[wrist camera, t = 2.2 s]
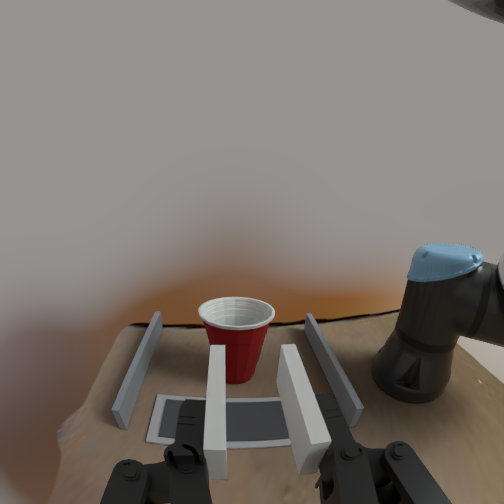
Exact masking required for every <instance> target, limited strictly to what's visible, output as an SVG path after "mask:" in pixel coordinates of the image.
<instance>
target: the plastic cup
mask: <svg viewBox="0 0 504 504" xmlns="http://www.w3.org/2000/svg"><path fill="white" fill-rule="evenodd" d="M198 310H199V314H200V317H201V319H202V320H203V322H204V325H205V328H206V332H207V335H208V339H209V343H210V346H211V345H225V376H226V382H228V383H232V384H240V383H244V382H246V381H249V380H250V379H251V377H252V376H253V374H254V371H255V368H256V364H257V362H258V359H259V356H260V352H261V349H262V345H263V342H264V338H265V335H266V333H267V329H268V328H269V324H270V322H271V320H272V319H273V318H274V315H275V314H274V313H275V310H274V309H273V308H272V307H271V306H270V305H269V304H267V303H265V302H262V301H260V300H256V299H252V298H244V297H225V298H218V299H213V300H210V301H208V302H206V303H204V304H202V305H201V306H200V308H199V309H198Z"/></svg>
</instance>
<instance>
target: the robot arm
mask: <svg viewBox="0 0 504 504" xmlns="http://www.w3.org/2000/svg"><path fill="white" fill-rule="evenodd" d="M449 1H450V2H452V3H454V4H457V5H458V6H461V7H463V8H465V9H467V10H469V11H471V12H474V13H476V14H478V15H481V16H483V17H486V18H489V19H491V20H494V21H497V22H500V23H503V24H504V0H449ZM483 260H484V259H483V254H482V252H481V251H480V250H478V249H475V248H471V247H466V246H462V245H455V244H427V245H423V246H421V247H419V248H418V249H417V250H416V251H415V253H414V255H413V258H412V263H411V266H410V270H409V272H408V274H407V278H408V281H407V286H406V289H405V293H404V297H403V301H402V305H401V308H400V312H399V315H398V319H397V322H396V326H395V329H394V331H393V332H392V334H391V335H390V337H389V338H388V340H387V341H386V343H385V345H384V346H383V347H382V348H381V349H380V350H379V351H378V353H377V355H376V357H375V360H374V363H373V366H372V375H373V378H374V380H375V382H376V383H377V384H378V386H379V387H380V388H381V389H382V390H383V391H385V392H386V393H387V394H389V395H391V396H392V397H394V398H397V399H399V400H402V401H406V402H412V403H423V402H428V401H431V400H434V399H436V398H437V397H439V396H440V395H441V394H442V393H443V391H444V389H445V387H446V386H447V384H448V382H449V379H450V373H451V365H452V359H453V352H454V348H455V345H456V343H457V340H458V338H459V336H464V337H468V338H471V339H475V340H479V341H483V342H487V343H490V344H494V345H498V346H501V347H504V253H503V254H502V256H501V258H500V260H499V263H498V265H495V264H491V263H487V262H483ZM276 382H277V386H278V390H279V395H280V399H281V403H282V408H283V412H284V416H285V420H286V425H287V429H288V433H289V437H290V441H291V446H292V450H293V454H294V458H295V462H296V467H297V471H298V475H305V474H311V473H316V472H317V470H318V468H319V470H320V473H321V476H320V478H319V479H318V481H317V483H316V485H315V488H318V486H319V489H320V500H321V504H452V503H451V502H450V500H449V499H448V498H447V496H446V495H445V493H444V492H443V491H442V489H441V488H440V486H439V485H438V484H437V482H436V481H435V479H434V478H433V477H432V475H431V474H430V473H429V471H428V470H427V468H426V467H425V466H424V464H423V463H422V461H421V460H420V459H419V457H418V456H417V455H416V453H415V452H414V450H413V449H412V448H411V447H410V446H409V445H408V444H407V443H404V442H399V441H396V442H392V443H391V444H389V445H388V446H387V447H386V448H385V449H370V448H365V447H363V446H362V445H361V444H359V443H356V442H355V440H354V439H353V437H352V434H351V432H350V430H349V428H348V426H347V423H346V421H345V419H344V417H343V414H342V412H341V410H340V408H339V406H338V403H337V401H336V400H335V399H334V398H333V397H332V396H331V395H330V394H322V395H314V392H313V390H312V387H311V385H310V382H309V379H308V377H307V374H306V371H305V369H304V366H303V363H302V361H301V358H300V356H299V353H298V350H297V348H296V345H295V344H283V345H281V350H280V358H279V366H278V373H277V380H276ZM163 456H164V458H165V461H163V462H160V463H155V464H146V465H143V464H142V463H140V462H138V461H136V460H130V459H127V460H122V461H120V462H119V463H117V464H116V466H115V467H114V469H113V471H112V474H111V476H110V479H109V481H108V484H107V487H106V489H105V492H104V494H103V497H102V500H101V502H100V504H166V503H171V504H212V500H211V495H210V490H209V480H228V478H227V445H226V376H225V345H211V346H210V358H209V370H208V383H207V396H206V400H194V399H185V401H184V402H183V403H182V404H181V406H180V409H179V415H178V421H177V427H176V434H175V441H174V443H172V444H170V445H168V447H167V448H166V449H165V451H164V455H163Z"/></svg>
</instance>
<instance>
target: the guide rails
mask: <svg viewBox="0 0 504 504" xmlns="http://www.w3.org/2000/svg"><path fill="white" fill-rule="evenodd" d="M162 329H163V328H162V319H161V312H155V314H154V316H153V318H152V320H151V322H150V324H149V327H148V329H147V331H146V333H145V335H144V337H143V339H142V341H141V343H140V345H139V348H138V350H137V352H136V354H135V356H134V359H133V361H132V363H131V365H130V367H129V370H128V372H127V374H126V376H125V379H124V381H123V383H122V386H121V388H120V390H119V393H118V395H117V397H116V400H115V402H114V405H113V407H112V412H113V415H114V417H115V419H116V421H117V423H118V426H119V428H120V429H124V430H127V428H128V425H129V421H130V418H131V415H132V412H133V409H134V406H135V403H136V400H137V397H138V394H139V392H140V389H141V386H142V383H143V380H144V377H145V375H146V372H147V369H148V366H149V363H150V361H151V358H152V355H153V353H154V350H155V347H156V345H157V342H158V340H159V337H160V334H161V332H162ZM304 331H305V333H306V336H307V338H308V340H309V342H310V344H311V346H312V348H313V351H314V353H315V355H316V357H317V359H318V361H319V363H320V366H321V368H322V370H323V372H324V374H325V376H326V379H327V381H328V383H329V385H330V387H331V390H332V392H333V394H334V396H335V398H336V400H337V403H338V405H339V407H340V409H341V411H342V414H343V416H344V418H345V420H346V423H347V425H348V427H354V426H356V424H357V422H358V420H359V418H360V415H361V413H362V411H363V409H364V407H363V405H362V403H361V401H360V399H359V398H358V396H357V394H356V392H355V390H354V388H353V387H352V385H351V383H350V381H349V379H348V378H347V376H346V374H345V372H344V370H343V369H342V367H341V365H340V363H339V361H338V360H337V358H336V356H335V354H334V353H333V351H332V349H331V347H330V345H329V344H328V342H327V340H326V338H325V337H324V335H323V333H322V331H321V330H320V328H319V326H318V324H317V323H316V321H315V319H314V317H313V316H312V314H306V321H305V328H304Z"/></svg>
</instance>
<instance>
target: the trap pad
mask: <svg viewBox="0 0 504 504" xmlns="http://www.w3.org/2000/svg"><path fill="white" fill-rule="evenodd" d="M314 395H315V394H314ZM185 399H194V400H206V398H200V397H183V396H171V395H161V394H158V395H157V399H156V402H155V406H154V410H153V414H152V418H151V422H150V426H149V430H148V434H147V438H146V442H148V443H155V444H162V445H170V444H172V443H174V441H175V434H176V427H177V421H178V415H179V409H180V406H181V404H182V403H183V402H184V401H185ZM226 445H227V449H250V448H269V447H282V446H291V441H290V437H289V433H288V429H287V425H286V420H285V416H284V412H283V408H282V403H281V399H280V397H268V398H226Z"/></svg>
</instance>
